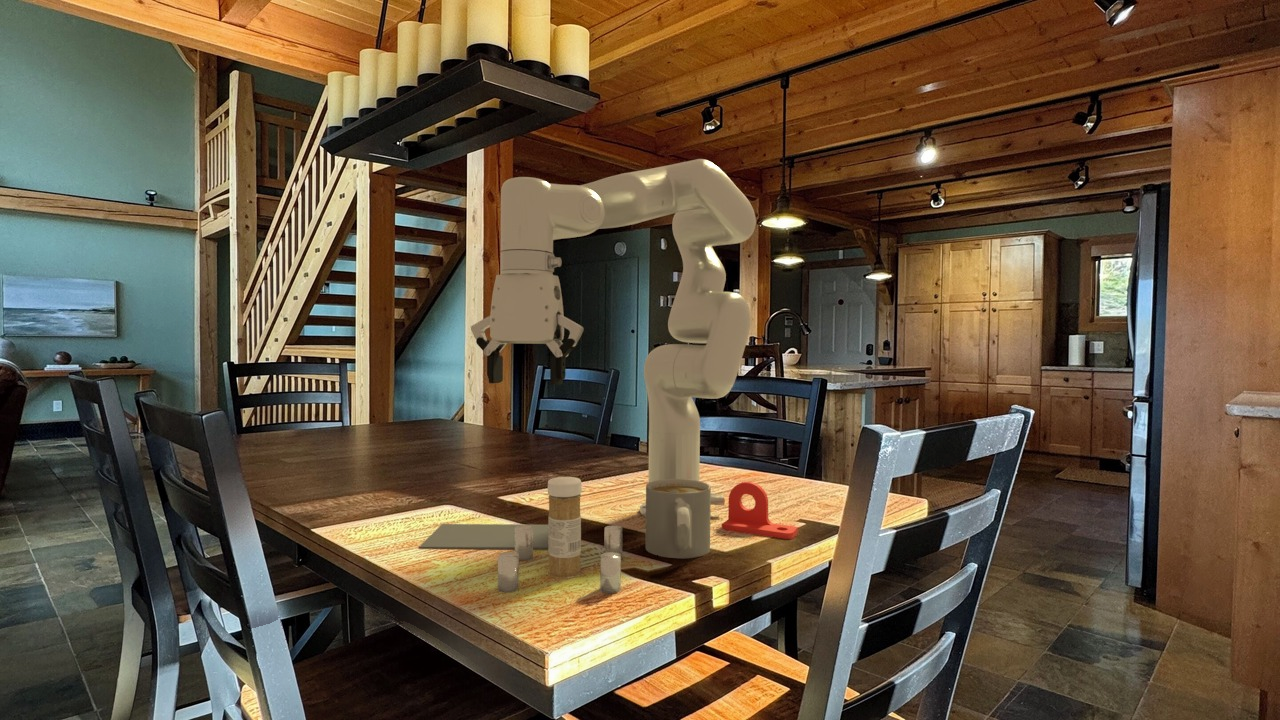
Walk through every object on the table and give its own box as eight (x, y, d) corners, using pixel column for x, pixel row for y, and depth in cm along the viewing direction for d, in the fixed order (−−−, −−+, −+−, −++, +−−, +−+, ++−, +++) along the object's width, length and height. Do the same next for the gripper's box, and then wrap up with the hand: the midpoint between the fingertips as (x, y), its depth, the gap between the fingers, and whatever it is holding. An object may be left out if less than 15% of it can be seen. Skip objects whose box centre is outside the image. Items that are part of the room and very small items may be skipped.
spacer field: (622, 555, 98) (622, 522, 98) (620, 598, 82) (620, 559, 82) (518, 555, 98) (518, 522, 98) (495, 598, 82) (495, 558, 82)
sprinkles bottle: (570, 568, 93) (571, 474, 92) (587, 578, 89) (587, 480, 88) (541, 575, 90) (541, 478, 89) (557, 585, 86) (557, 484, 86)
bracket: (721, 530, 112) (722, 484, 112) (730, 523, 116) (730, 479, 116) (791, 541, 107) (792, 492, 106) (798, 533, 111) (798, 487, 110)
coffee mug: (650, 538, 107) (650, 477, 107) (711, 541, 105) (712, 480, 105) (637, 566, 94) (637, 497, 93) (706, 571, 92) (707, 500, 92)
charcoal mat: (560, 529, 111) (560, 524, 111) (551, 552, 99) (551, 547, 99) (442, 528, 111) (442, 524, 111) (419, 552, 99) (419, 546, 99)
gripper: (591, 268, 96) (590, 384, 97) (485, 269, 101) (484, 380, 101) (573, 262, 89) (572, 387, 90) (459, 264, 94) (459, 383, 94)
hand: (525, 383), depth 96 cm, fingers open, 9 cm apart
